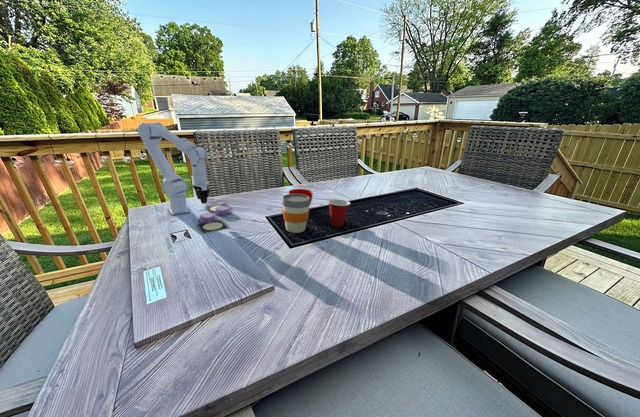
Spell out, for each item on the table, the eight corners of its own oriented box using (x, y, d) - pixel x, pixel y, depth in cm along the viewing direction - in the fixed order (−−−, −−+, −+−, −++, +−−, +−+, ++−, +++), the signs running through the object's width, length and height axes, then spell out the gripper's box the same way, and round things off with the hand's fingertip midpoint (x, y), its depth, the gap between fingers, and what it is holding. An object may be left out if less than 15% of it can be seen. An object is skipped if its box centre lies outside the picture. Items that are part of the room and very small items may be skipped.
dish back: (213, 211, 135) (213, 207, 134) (227, 209, 139) (227, 205, 138) (218, 216, 129) (217, 211, 129) (232, 213, 133) (231, 209, 133)
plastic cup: (351, 223, 130) (353, 200, 126) (344, 230, 120) (346, 206, 116) (331, 218, 134) (332, 196, 130) (322, 226, 124) (324, 202, 120)
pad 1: (206, 207, 141) (206, 206, 141) (224, 204, 147) (224, 204, 147) (211, 212, 133) (211, 212, 133) (230, 209, 139) (230, 209, 139)
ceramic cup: (280, 213, 138) (280, 195, 134) (295, 204, 153) (295, 187, 149) (302, 217, 133) (303, 199, 130) (315, 207, 148) (316, 191, 145)
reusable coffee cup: (276, 228, 120) (276, 196, 115) (296, 221, 128) (297, 191, 123) (294, 237, 112) (295, 203, 107) (315, 229, 121) (316, 198, 116)
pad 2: (198, 224, 119) (198, 224, 119) (220, 220, 125) (220, 220, 125) (204, 232, 111) (204, 232, 111) (227, 227, 117) (227, 227, 117)
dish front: (198, 219, 125) (197, 214, 124) (213, 216, 129) (213, 211, 128) (202, 224, 119) (201, 219, 119) (217, 221, 123) (217, 216, 123)
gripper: (212, 176, 120) (214, 204, 124) (204, 170, 131) (206, 196, 135) (195, 177, 116) (199, 206, 120) (188, 171, 127) (192, 197, 131)
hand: (202, 201), depth 128 cm, fingers open, 7 cm apart
